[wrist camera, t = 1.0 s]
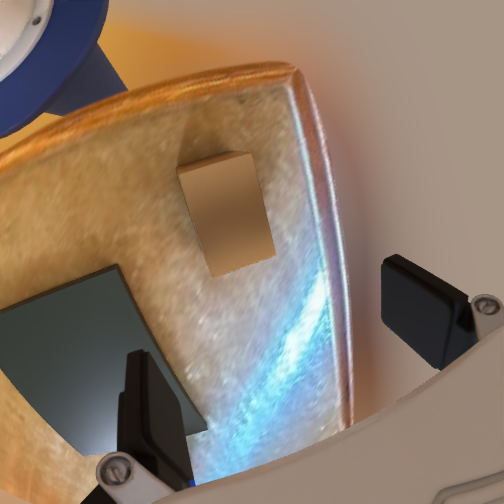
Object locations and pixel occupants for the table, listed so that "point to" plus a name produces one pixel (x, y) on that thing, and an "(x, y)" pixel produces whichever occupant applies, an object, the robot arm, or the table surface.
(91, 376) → the chalkboard
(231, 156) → the eraser
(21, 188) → the table surface
